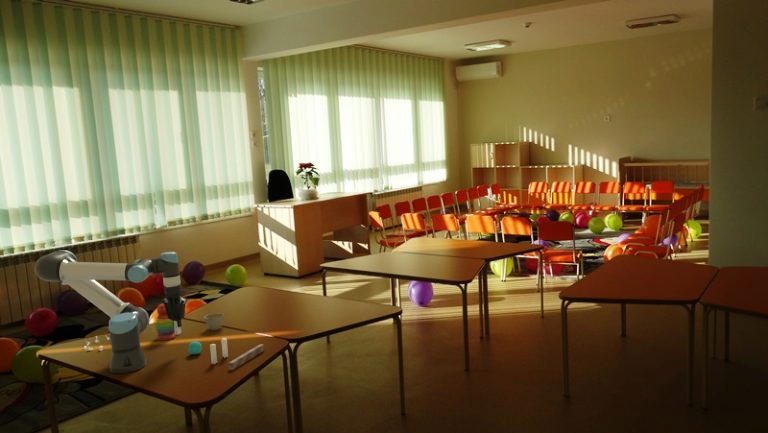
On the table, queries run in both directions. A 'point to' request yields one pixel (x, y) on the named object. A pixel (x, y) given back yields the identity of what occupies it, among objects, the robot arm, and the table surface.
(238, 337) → the table surface
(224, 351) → the ivory pin
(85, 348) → the game piece set
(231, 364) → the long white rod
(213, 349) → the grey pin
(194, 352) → the ball
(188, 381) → the table surface
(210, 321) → the grey round cup
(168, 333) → the stacking bear
